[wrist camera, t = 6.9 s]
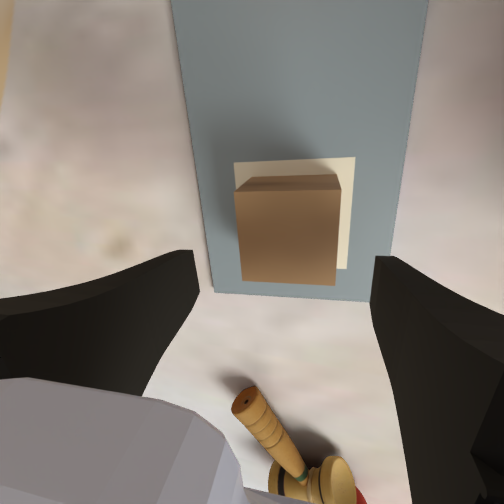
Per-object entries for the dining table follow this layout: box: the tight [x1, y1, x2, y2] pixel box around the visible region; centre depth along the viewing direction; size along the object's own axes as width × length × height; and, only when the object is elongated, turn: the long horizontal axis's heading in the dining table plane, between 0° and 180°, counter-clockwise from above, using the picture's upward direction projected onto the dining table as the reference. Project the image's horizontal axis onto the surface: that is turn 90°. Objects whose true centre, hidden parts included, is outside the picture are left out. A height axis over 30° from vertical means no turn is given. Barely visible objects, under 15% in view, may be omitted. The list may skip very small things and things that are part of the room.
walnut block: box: [234, 174, 342, 286], centre depth 16 cm, size 5×5×4 cm
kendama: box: [231, 386, 367, 504], centre depth 26 cm, size 8×6×18 cm
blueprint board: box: [171, 0, 428, 302], centre depth 15 cm, size 24×12×1 cm, turn 4°
